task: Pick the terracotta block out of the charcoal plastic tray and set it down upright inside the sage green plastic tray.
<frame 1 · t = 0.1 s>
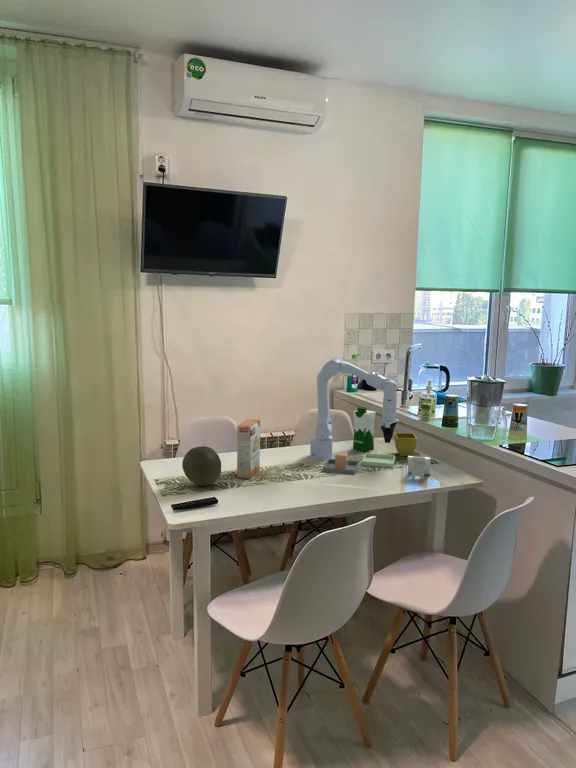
hand: (388, 440, 244), 10 cm above the table, tool pointing down, fingers open, 7 cm apart
cracker box: (249, 473, 231), on the table
dark olive ball: (202, 486, 216), on the table
terracotta block: (341, 468, 237), point 1 cm above the table, touching charcoal tray
portable electronic device stand: (418, 476, 229), on the table
flower pot: (404, 455, 259), on the table
charcoal tray: (341, 469, 237), on the table
milk carton: (363, 449, 267), on the table
green tray: (378, 463, 246), on the table
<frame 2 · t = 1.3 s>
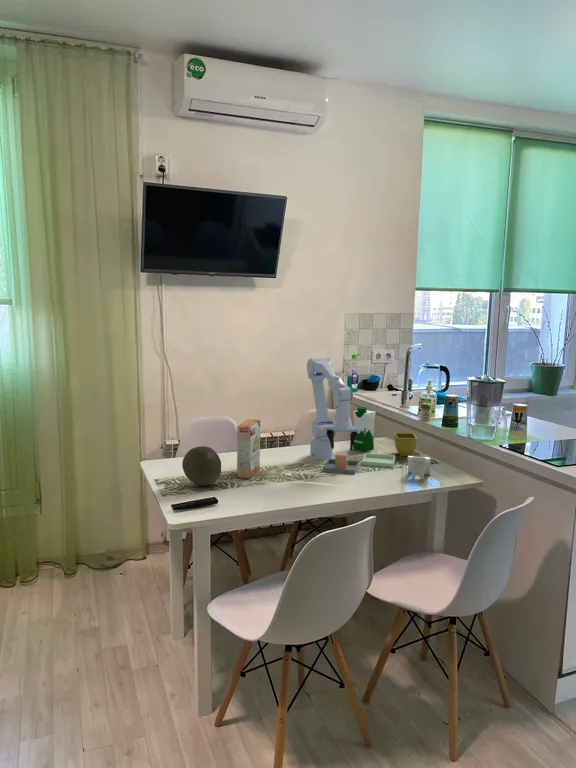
hand: (341, 449, 236), 9 cm above the table, tool pointing down, fingers open, 7 cm apart
nothing on the table moved.
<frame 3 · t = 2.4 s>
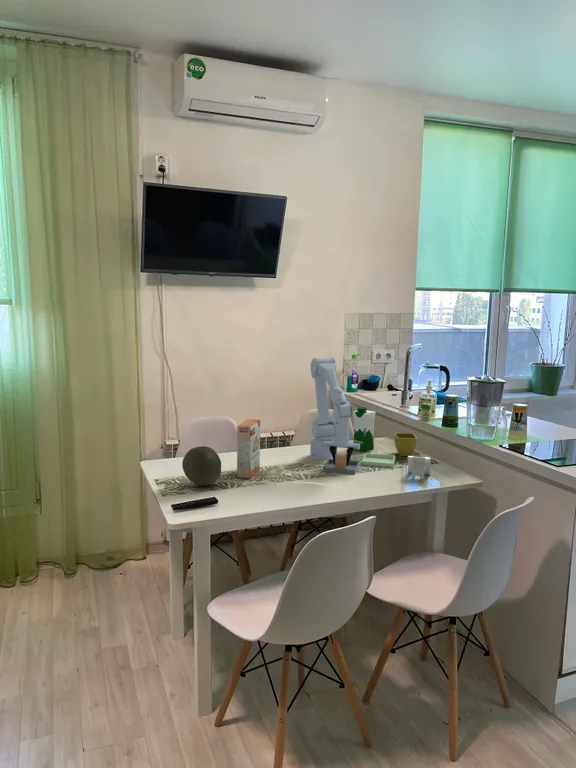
hand: (341, 464, 237), 2 cm above the table, tool pointing down, fingers closed on terracotta block, 4 cm apart
terracotta block: (341, 468, 237), point 1 cm above the table, touching charcoal tray, gripper
everything else where it was.
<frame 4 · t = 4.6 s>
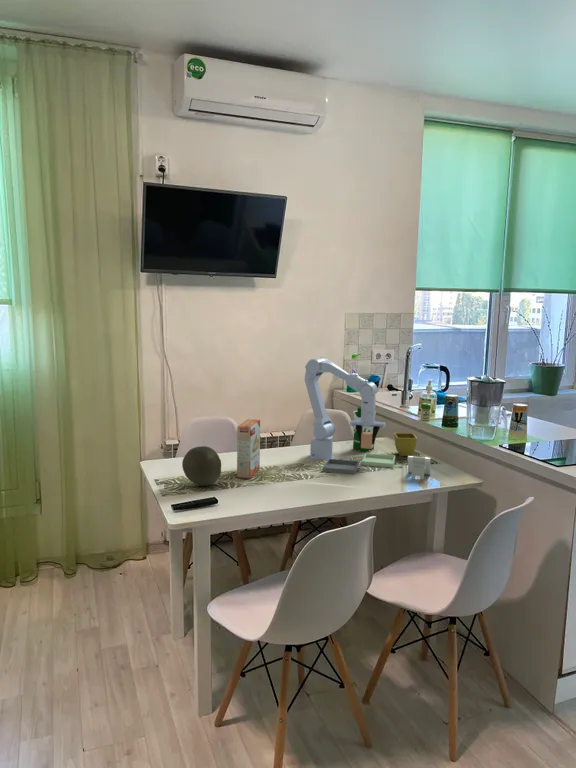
hand: (367, 443, 241), 9 cm above the table, tool pointing down, fingers closed on terracotta block, 4 cm apart
terracotta block: (367, 447, 241), point 8 cm above the table, touching gripper
everything else where it was.
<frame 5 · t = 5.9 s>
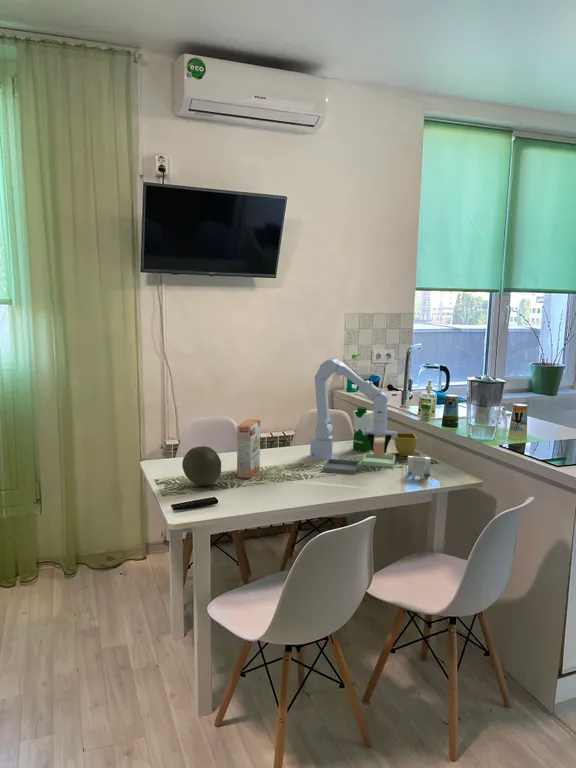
hand: (379, 451, 245), 5 cm above the table, tool pointing down, fingers closed on terracotta block, 4 cm apart
terracotta block: (379, 455, 245), point 3 cm above the table, touching gripper
everything else where it was.
when the fingers open (3 cm above the table, at t = 6.7 s): terracotta block drops 1 cm, resting on green tray.
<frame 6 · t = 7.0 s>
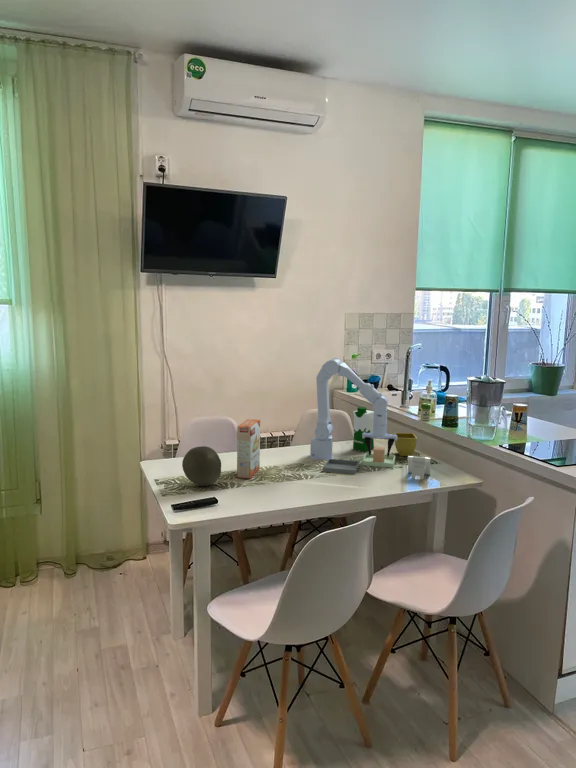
hand: (379, 455, 245), 3 cm above the table, tool pointing down, fingers open, 7 cm apart
terracotta block: (378, 461, 246), point 1 cm above the table, touching green tray
everything else where it was.
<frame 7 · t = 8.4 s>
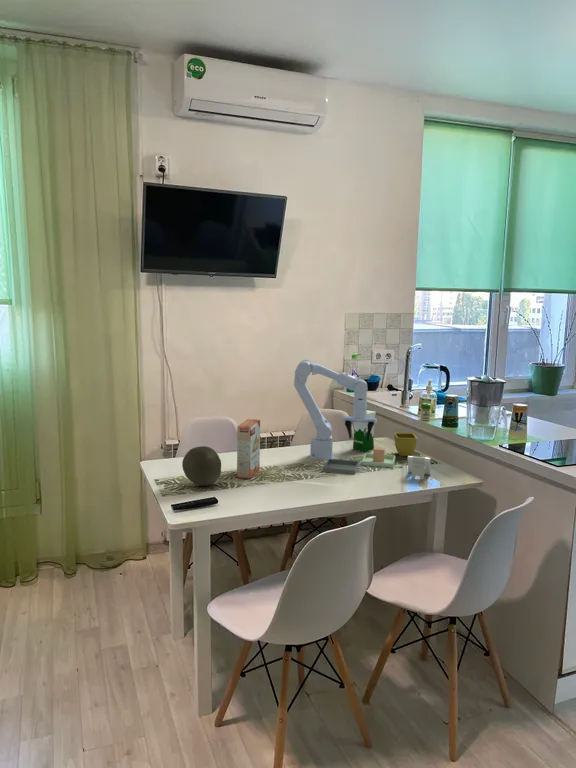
hand: (359, 438, 249), 9 cm above the table, tool pointing down, fingers open, 7 cm apart
nothing on the table moved.
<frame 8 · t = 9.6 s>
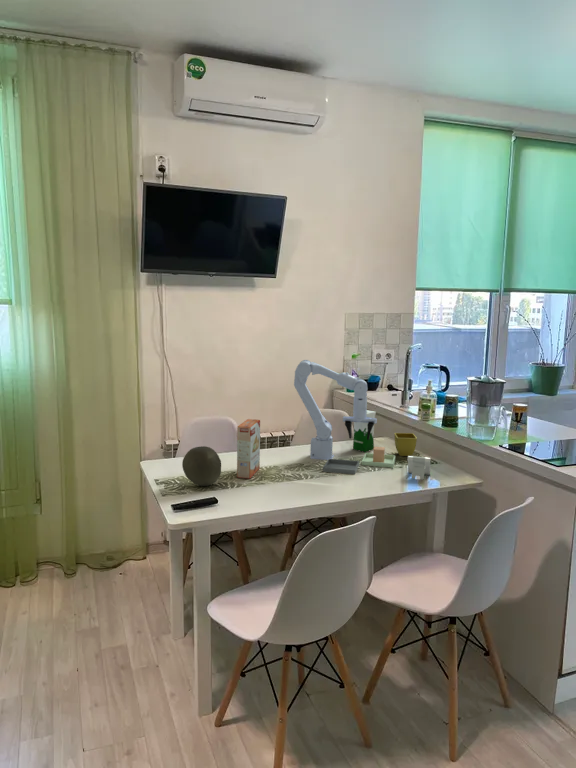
hand: (359, 438, 249), 9 cm above the table, tool pointing down, fingers open, 7 cm apart
nothing on the table moved.
at the end: terracotta block inside the target area on the green tray (0.2 cm from its centre), point 0.6 cm above the green tray's base; terracotta block tilted 0°; the gripper is holding nothing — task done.
